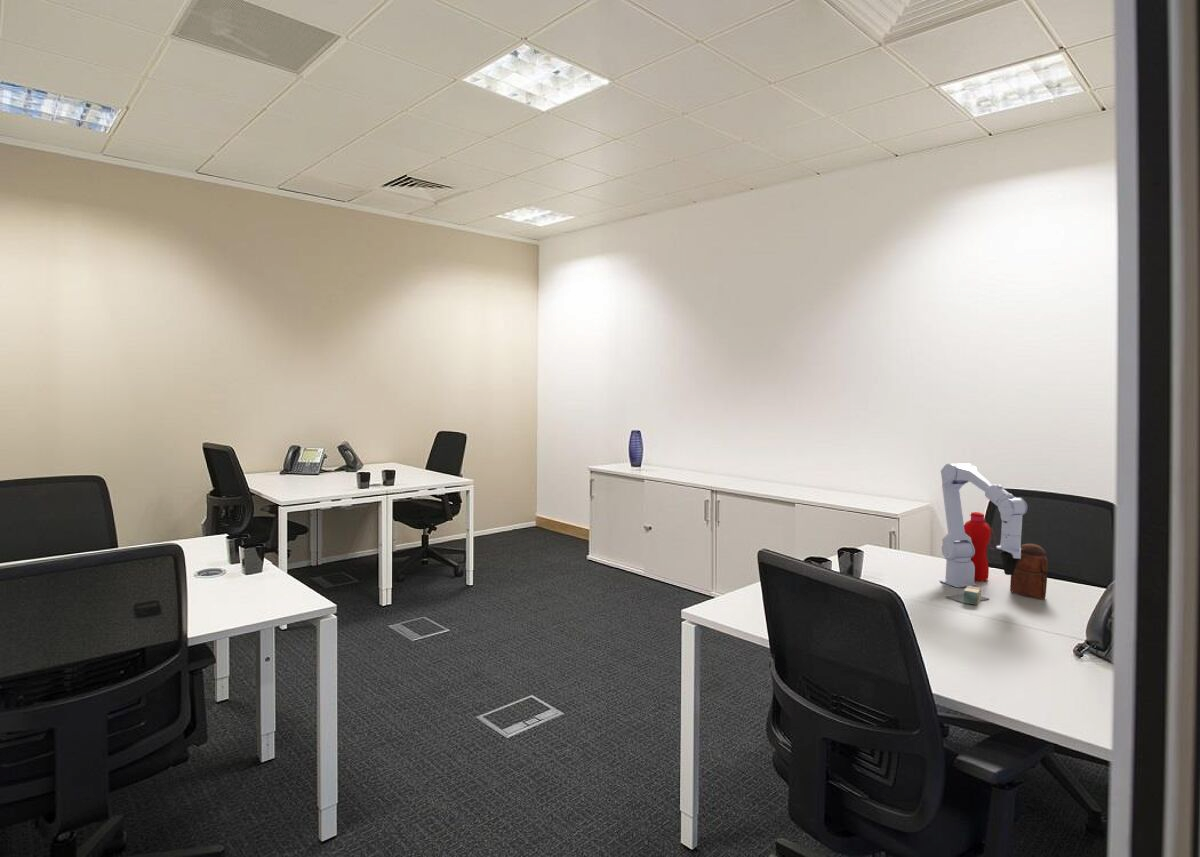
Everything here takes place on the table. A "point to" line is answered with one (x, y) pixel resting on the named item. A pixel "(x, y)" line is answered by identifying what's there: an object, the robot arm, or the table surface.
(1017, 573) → the brown upright rounded block
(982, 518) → the water bottle
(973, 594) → the oak block
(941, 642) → the table surface
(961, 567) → the robot arm
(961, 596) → the slate mat
